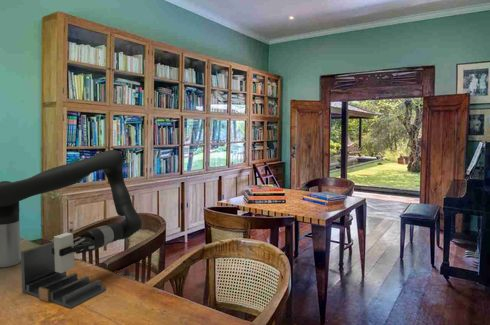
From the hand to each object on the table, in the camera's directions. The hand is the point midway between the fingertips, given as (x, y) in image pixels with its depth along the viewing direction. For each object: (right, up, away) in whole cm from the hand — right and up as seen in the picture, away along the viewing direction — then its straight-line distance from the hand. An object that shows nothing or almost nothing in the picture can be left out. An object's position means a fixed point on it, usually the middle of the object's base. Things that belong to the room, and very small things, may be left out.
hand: (56, 252), depth 116 cm
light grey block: (+1, -7, +3) cm, 8 cm away
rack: (+1, -14, +4) cm, 15 cm away
